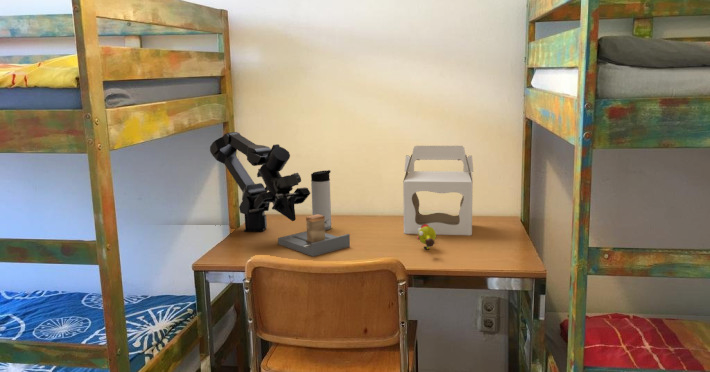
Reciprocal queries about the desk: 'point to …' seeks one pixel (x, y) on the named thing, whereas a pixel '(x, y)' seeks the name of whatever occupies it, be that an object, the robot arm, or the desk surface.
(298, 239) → the console
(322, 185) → the travel mug
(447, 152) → the gable box
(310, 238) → the block
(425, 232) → the toy figure
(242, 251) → the desk surface
